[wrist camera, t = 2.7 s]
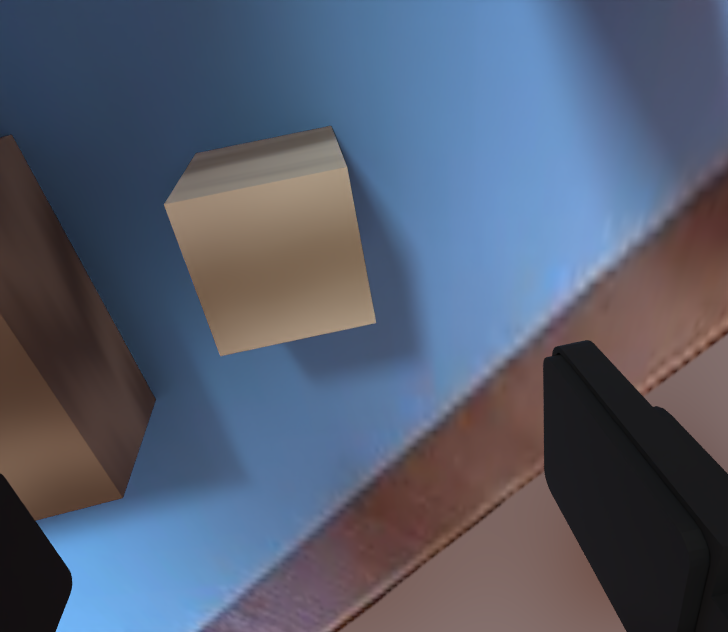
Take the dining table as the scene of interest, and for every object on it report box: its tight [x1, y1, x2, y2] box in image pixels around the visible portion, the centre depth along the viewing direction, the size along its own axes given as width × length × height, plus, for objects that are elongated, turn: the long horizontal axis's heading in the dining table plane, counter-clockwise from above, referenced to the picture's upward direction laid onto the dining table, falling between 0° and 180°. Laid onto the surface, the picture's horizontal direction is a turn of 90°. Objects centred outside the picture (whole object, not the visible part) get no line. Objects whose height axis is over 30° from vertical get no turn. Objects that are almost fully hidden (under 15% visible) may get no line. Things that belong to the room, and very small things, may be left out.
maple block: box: [164, 126, 376, 356], centre depth 18 cm, size 5×5×6 cm
